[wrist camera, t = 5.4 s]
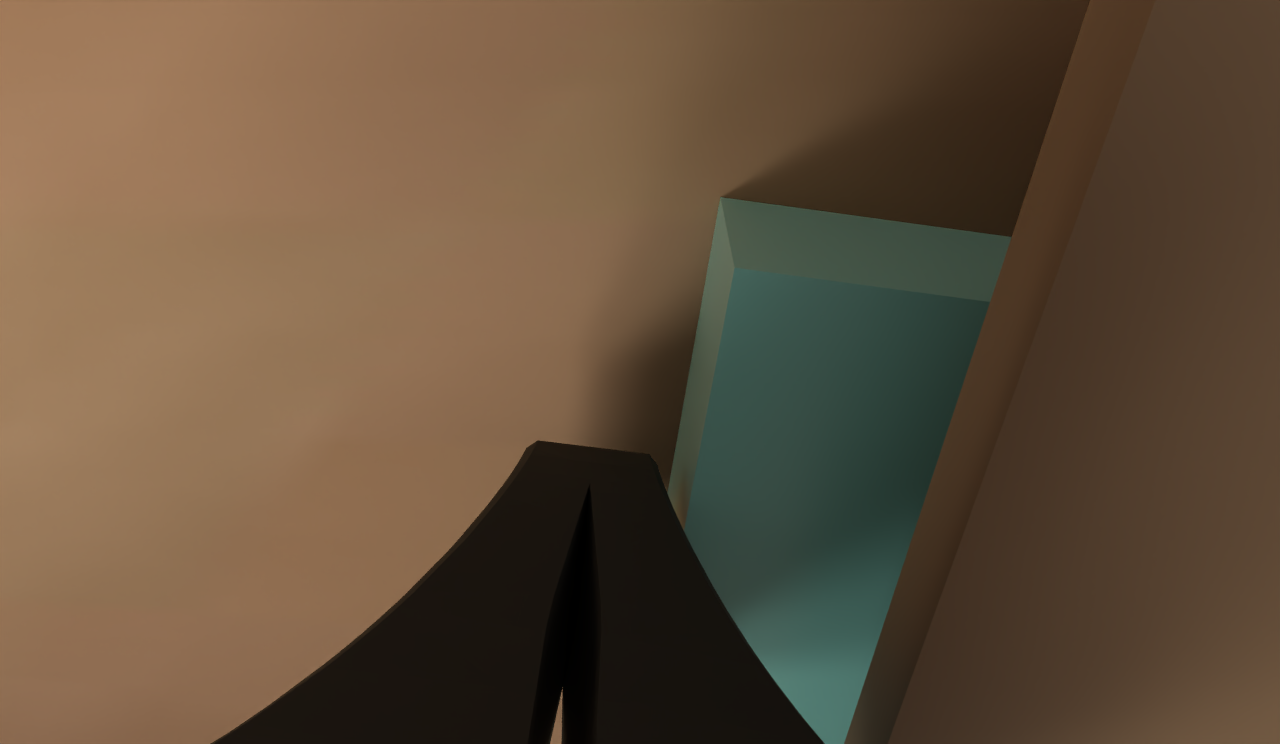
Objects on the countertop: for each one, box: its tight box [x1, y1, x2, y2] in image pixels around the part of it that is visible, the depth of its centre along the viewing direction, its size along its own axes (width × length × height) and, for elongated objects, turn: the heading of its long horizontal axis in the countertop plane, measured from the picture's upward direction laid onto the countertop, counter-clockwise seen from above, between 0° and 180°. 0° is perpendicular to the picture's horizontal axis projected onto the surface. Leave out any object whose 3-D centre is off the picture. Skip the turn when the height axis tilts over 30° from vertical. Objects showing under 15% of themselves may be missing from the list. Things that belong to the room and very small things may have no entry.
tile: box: [667, 197, 1011, 744], centre depth 11 cm, size 10×7×2 cm
